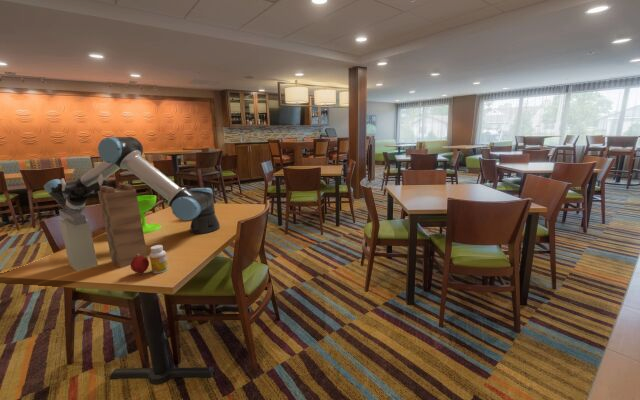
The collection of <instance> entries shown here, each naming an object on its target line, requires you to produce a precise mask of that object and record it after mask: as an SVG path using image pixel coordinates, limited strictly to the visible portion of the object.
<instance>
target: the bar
mask: <svg viewBox="0 0 640 400" xmlns="http://www.w3.org/2000/svg"><path fill="white" fill-rule="evenodd" d="M58 212H59V216H60V218H62V220H64V219H65V220H67V221H68V222H70V223H72V224H73V225H75V226H76V225H80V224H85V223H87V222H86V219H87V217H86V215H85V214H83V213H79V212H77V211H75V210H72V209H70V208H67V209H63V208H62V209H58Z"/></svg>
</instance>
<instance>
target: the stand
mask: <svg viewBox="0 0 640 400" xmlns="http://www.w3.org/2000/svg"><path fill="white" fill-rule="evenodd" d="M117 184H118V185H117V187H118V188H117V187H116V188H115V187H112V186H110V185H108V186H100V191H98V193H97V194H98V199H99V204H100V208H101V214H102V220H103V224H104V229H105V234H106V239H107V244H108V248H109V254H110V258H111V263H113V264H114V265H116V266H117V267H120V268H124V267H128V266H131V262H132V260H133V259H134V258H135V257H136V255H137V254H140V255H141V256H144V257H146V258H147V259H148V253H147V248H146V247H147V246H146V241H145V240H146V239H145V235H144V234H145V233H144V234H143V228H142V220H141V214H140V211H139V205H138V199H137V196H138V195H137V189H136V188H134V187H133V184H129V183H123V182H122V183H117ZM148 260H149V259H148Z"/></svg>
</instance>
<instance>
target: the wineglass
mask: <svg viewBox="0 0 640 400" xmlns="http://www.w3.org/2000/svg"><path fill="white" fill-rule="evenodd" d="M137 199H138V205H139V211H140V217H141V222H142V228H143V234H147V233H154V232H156V231H158V230H160V229H161V228H162V226H161V224H158V223H147V221H146V215H145V214H146V212H148V211H151V209H153V208H154V206H155V205H156V203H157V195H151V194H145V195H137Z"/></svg>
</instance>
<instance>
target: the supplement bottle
mask: <svg viewBox="0 0 640 400" xmlns="http://www.w3.org/2000/svg"><path fill="white" fill-rule="evenodd" d="M163 249H164V247H163V245H162V244H156V245H153V246H151V247H150V254H149V260H150V266H151V272H152V274H163V273H164V272H166V271H168V269H169V265H168V258H167V253H166V251H165V250H163Z"/></svg>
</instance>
